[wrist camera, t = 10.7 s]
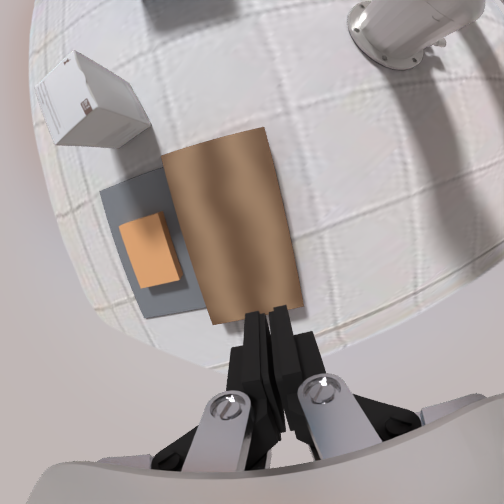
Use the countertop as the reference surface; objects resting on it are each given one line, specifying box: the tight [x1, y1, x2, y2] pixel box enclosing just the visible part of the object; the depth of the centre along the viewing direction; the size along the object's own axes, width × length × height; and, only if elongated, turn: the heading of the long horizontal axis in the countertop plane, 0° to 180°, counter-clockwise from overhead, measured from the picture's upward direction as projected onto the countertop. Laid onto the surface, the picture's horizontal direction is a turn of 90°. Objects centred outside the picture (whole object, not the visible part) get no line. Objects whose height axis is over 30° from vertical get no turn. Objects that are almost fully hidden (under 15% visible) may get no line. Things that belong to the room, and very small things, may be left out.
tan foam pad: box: [119, 211, 183, 288], centre depth 34 cm, size 9×6×2 cm, turn 14°
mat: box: [100, 167, 206, 318], centre depth 36 cm, size 11×20×1 cm, turn 14°
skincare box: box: [34, 50, 151, 149], centre depth 23 cm, size 8×6×15 cm
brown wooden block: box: [161, 127, 304, 325], centre depth 33 cm, size 12×22×4 cm, turn 14°
